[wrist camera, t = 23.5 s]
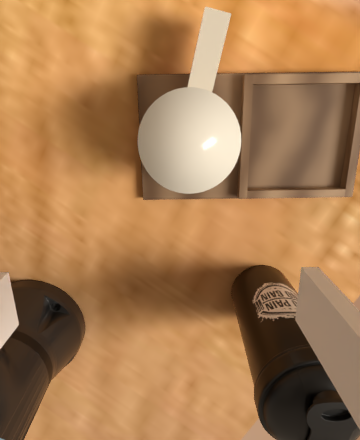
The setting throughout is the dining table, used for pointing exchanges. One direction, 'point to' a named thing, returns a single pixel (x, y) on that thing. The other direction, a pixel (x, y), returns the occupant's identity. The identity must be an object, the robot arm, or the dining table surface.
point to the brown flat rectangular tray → (278, 133)
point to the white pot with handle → (193, 122)
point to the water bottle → (286, 363)
